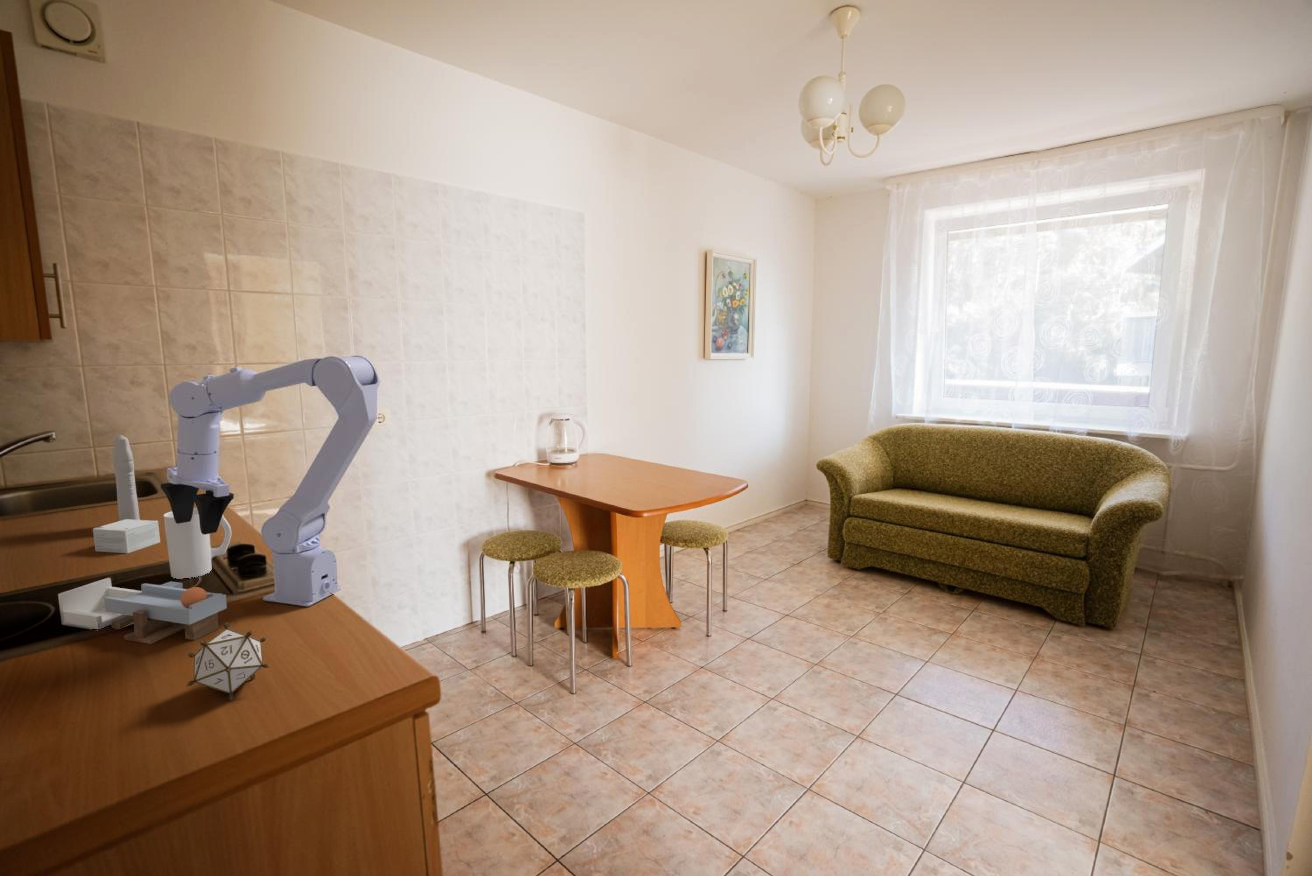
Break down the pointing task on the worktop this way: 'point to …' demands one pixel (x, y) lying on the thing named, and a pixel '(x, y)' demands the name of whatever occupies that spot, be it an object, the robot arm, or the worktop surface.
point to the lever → (166, 604)
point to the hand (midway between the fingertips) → (196, 527)
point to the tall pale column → (125, 479)
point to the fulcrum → (163, 627)
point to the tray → (91, 605)
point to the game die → (227, 661)
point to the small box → (126, 536)
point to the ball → (193, 596)
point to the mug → (191, 546)
